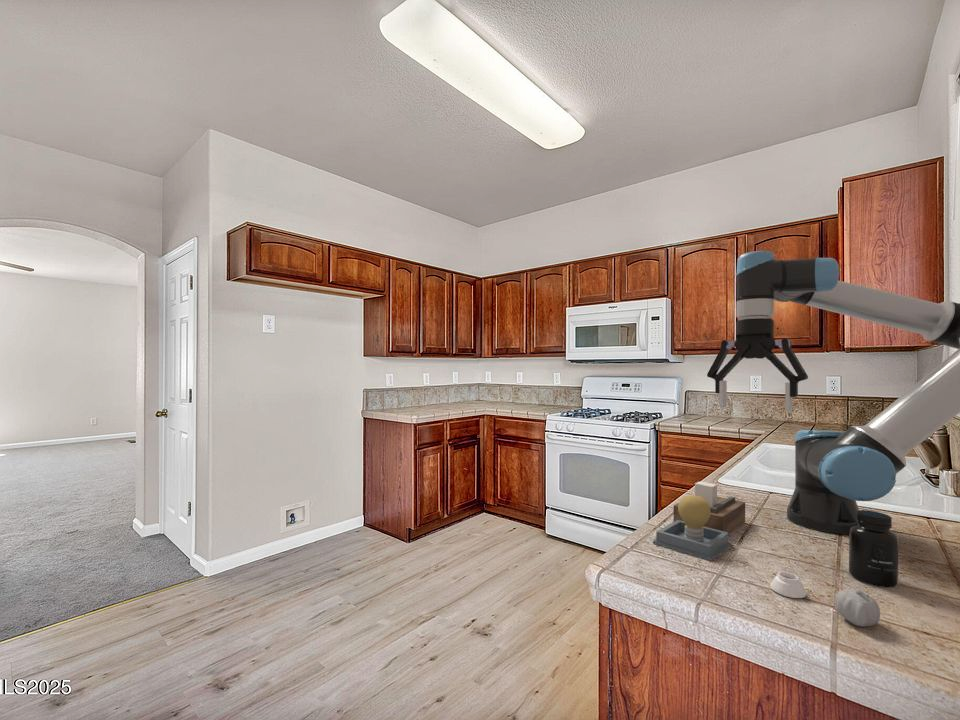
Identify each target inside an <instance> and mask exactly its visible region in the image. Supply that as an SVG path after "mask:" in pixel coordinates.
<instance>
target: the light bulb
mask: <svg viewBox="0 0 960 720" xmlns="http://www.w3.org/2000/svg"><path fill="white" fill-rule="evenodd" d="M678 503H679V505H678V511H679V514H680V516H681V518H682V519H683V521H684V522H685V524H686V525H685V538H688V539H691V540H695V541H698V542H703V541H704V538H703V536H704V533H703V532H704V529H703V525H704V524H705V523H706V522H707V521H708V520H709V518H710V515H711V510H710V506H709V504H708V503H707V501H706V500H705V499H703V498H702V497H700V496H697V495H695V494H687V495H685V496H683V497H681V499H680V500H679V502H678Z"/></svg>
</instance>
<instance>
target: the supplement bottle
mask: <svg viewBox="0 0 960 720" xmlns="http://www.w3.org/2000/svg"><path fill="white" fill-rule="evenodd" d="M892 519H893V517H892V516H891V515H888V514H886V513H882V512H880V511H873V510H867V509H859V510H858V511H857V518H856V521H857V522H858V524H855V525H853V526H852V527H851V528H850V534H849V537H848V538H849V540H848V541H849V542H848V546H849V547H848V572H849V574H850V576H852V577H853V578H854V579H855V580H858V581H860V582H862V583H863V584H864V583H865V584H868V585H870V586H875V587H881V588H894V587H897V585H898V583H899V557H900V556H899V549H900V546H899V545H900V541H899V538H898V535H897V533H895V532H894V531H893V530H892V529H893V524H892V522H893V521H892Z"/></svg>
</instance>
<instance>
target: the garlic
mask: <svg viewBox="0 0 960 720" xmlns="http://www.w3.org/2000/svg"><path fill="white" fill-rule="evenodd" d="M834 607H835V609H836V611H837V613H838V614H839V615H840V616H841V617H842V618H844V619H845V620H846V621H848V622H849V623H850V624H852V625H854V626H857V627H862V628H863V627H871V626H873V625H875V624H878V623H879V621H880V619H881V610H880V606H879V604H878V602H877V601H876V599H874V598H873V597H872V596H870V595H869V594H868V593H867V592H865V591H863V590H862V589H859V588H858V589H852V588H851V589H850V588H848V589H845V588H844V589H842V590H839V591H837V593H836V595H835V596H834Z"/></svg>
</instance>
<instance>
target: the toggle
mask: <svg viewBox="0 0 960 720" xmlns="http://www.w3.org/2000/svg"><path fill="white" fill-rule="evenodd" d="M694 495H697V496H700V497H702V498H703V499H705V500H706V501H707V503H708V504H709V506H710V508H711V507H713V506H715V505H717V497H718V484H715V483H711V482H707V481H706V482H705V481H697V482H695V483H694Z"/></svg>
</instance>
